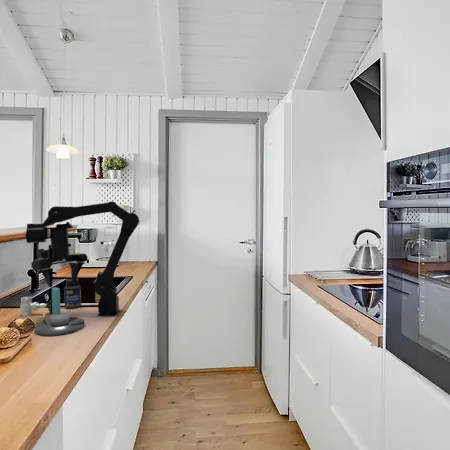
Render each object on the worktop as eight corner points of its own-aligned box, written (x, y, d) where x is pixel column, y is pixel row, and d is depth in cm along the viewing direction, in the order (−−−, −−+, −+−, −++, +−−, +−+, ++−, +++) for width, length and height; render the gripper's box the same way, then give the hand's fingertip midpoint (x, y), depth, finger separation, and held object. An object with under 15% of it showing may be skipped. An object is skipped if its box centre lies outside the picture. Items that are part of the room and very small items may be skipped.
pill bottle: (65, 309, 140) (64, 281, 140) (64, 306, 146) (63, 279, 145) (82, 307, 143) (81, 280, 142) (80, 304, 148) (79, 277, 148)
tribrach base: (94, 323, 123) (94, 310, 122) (60, 338, 109) (59, 323, 108) (60, 319, 128) (59, 306, 128) (23, 333, 114) (22, 319, 114)
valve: (16, 318, 130) (51, 316, 132) (16, 300, 130) (50, 298, 131) (24, 312, 137) (57, 311, 138) (24, 295, 137) (57, 294, 138)
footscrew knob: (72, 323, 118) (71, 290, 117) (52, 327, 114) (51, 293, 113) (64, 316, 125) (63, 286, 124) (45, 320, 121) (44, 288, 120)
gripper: (68, 238, 140) (70, 278, 141) (20, 243, 124) (23, 288, 125) (87, 239, 135) (89, 280, 136) (39, 244, 119) (42, 291, 120)
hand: (62, 284), depth 129 cm, fingers open, 9 cm apart
